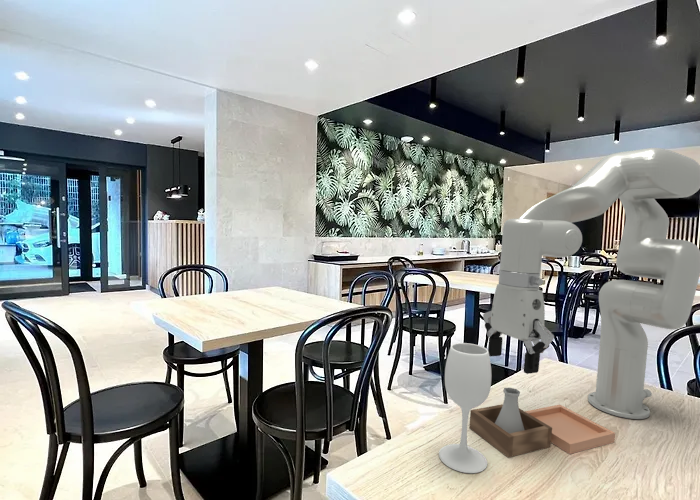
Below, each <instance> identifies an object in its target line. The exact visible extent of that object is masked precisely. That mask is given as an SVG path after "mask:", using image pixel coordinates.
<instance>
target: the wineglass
mask: <svg viewBox="0 0 700 500" xmlns="http://www.w3.org/2000/svg"><path fill="white" fill-rule="evenodd" d="M446 358H447V359H446V361H445V368H444V386H445V391H446V393H447V396H448V397H449V398H450V399H451V401H452V402H453V403H454V404H456V405H457V406H459V407H460V409H461V417H462V419H461V433H460V441H459V443H450V444H447V445H444V446H442V447H441V448H440V449H439V451H438V456H439V459H440V461H441V462H442V463H443V464H444V465H445V466H447V467H448V468H450V469H452V470H454V471H456V472H460V473H465V474H477V473H481V472H482V471H484V470H486V468H487V467H488V460H487V458H486V456H484V454H483V453H482V452H481V451H479V450H478V449H476V448H474V447H472V446H469V445H468V421H469V415H470V411H471V410H473V409H476V408H477V407H479V406H481V405H482V404H484V403H485V402H486V401H487V399H488V397H489V395H490V392H491V387H492V386H491V385H492V366H491V365H492V364H491V357H490V356H489V352H488V348H486V347H484V346H481V345H479V344H474V343H467V342H457V343H453V344H452V345H451V346H450V347H449V350H448V354H447V357H446Z"/></svg>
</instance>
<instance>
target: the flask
mask: <svg viewBox="0 0 700 500" xmlns="http://www.w3.org/2000/svg"><path fill="white" fill-rule="evenodd" d="M503 393H504V397H503V399H504V400H503V403H502V404H503V406H502V409H501V411H500V413H499V416H498V418H497V420H496V422H495V424H496V425H498V426H499V427H501V428H502V429H504V430H505V431H506V432H508V433H509V434H510V433H515V432H519V431H524V426H523V423H522V419H521V416H520V412H519V407H520V406H519V396H520V393H521V391H519V390H518V389H517V388H514V387H504V388H503Z"/></svg>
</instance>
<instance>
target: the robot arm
mask: <svg viewBox="0 0 700 500" xmlns="http://www.w3.org/2000/svg"><path fill="white" fill-rule="evenodd" d="M699 190H700V163H699V162H698V161H696V160H695V159H694V158H691V157H689V156H687V155H683V154H681V153H678V152H675V151H672V150H669V149H665V148H661V147H649V148H642V149H634V150H628V151H627V150H626V151H621V152H620V151H619V152H615V153H614V152H613V153H611V154H609V155H606V156H605V157H603V158H601V159H600V161H598V162H597V163H596V164H595V165H594V166H592V168H590V169H589V170H588V171H587V173H586V174H584V176H582V177H581V178H580V179H579V180H578V181H577V182H576V183H575V184H574V185H572V186H571V187H569V188H566V189H564V190H562V191H560V192H558V193H556V194H553V195H552V196H550V197H548V198H546V199H543V200H541V201H540V202H538V203H536V204H534V205H533V206H531V207H529V208H528V209H527V210H526V211H525V212H524V213H523V214H522V215H521V216H520V217H519V218H509V219H506V221H505V222H504V224H503V226H502V227H503V228H502V239H501V240H502V241H501V249H500V263H499V272H498V284H496V287H495V291H494V294H493V295H494V296H493V299H492V306H491V310H489V311H487V312H484V313H482V317H483V322H484V328H485V329H486V332H487V333H486V335H487V338H488V347H487V350H488V352H489V357H490V358H491V357H499V356H502V351H503V337H502V335H506V336H507V337H511V338H514V339H517V340H519V341H522V342H523V343H524V345H525V348H526V350H527V352H525V353H524V363H523V364H524V365H523V373H524V374H527V375H528V374H537V373H538V372H539V369H540V358H541V354H543V353H544V352H545V351H546V350H547V349H549V348H550V344H551V343H552V342H553V340H554V339H555V335H554V333H552V332H551V331H550V330H549V329H548V328H547V327H546V326H545V319H546V317H545V314H546V313H545V312H546V311H545V299H544V293H543V290H542V289H540V286H542V285H543V283H544V279H543V278H541V271H542V261H543V257H547V258H548V257H549V258H567V257H570V256H573V255H574V254H576V252H578V251H579V249H580V247H581V246H582V243H583V234H582V232H581V230H580V228H579V227H578V226H577V225H576V224H574V223H577V222H581V221H582V222H583V221H586V220H590V219H592V218H595V217H599V216H602V215H603V214H604V213H606V212H607V210H608V209H609V208H610V207H612V206H613V204H614V203H615V202H616V201H617V200H618V199H619V201H620V202H621V205H622V207H623V210H624V214H625V222H624V227H623V232H622V234H621V235H622V236H621V239H620V242H619V246H618V250H617V251H618V252H617V255H616V261H615V264H616V267H617V269H618V271H620V273H623V274H624V275H628V276H633V277H639V278H646V279H654V280H661V281H663V284H655V283H649V282H648V283H647V282H643V281H635V280H630V279H629V280H628V279H627V280H626V279H614V280H610V281H607V282H605V283H604V284H603V285H602V286H601V288H600V290H599V293H598V305H599V312H600V339H599V347H598V348H599V350H598V358H597V359H598V360H597V369H596V370H597V371H596V372H597V373H596V384H595V391H593V392H590V393H589V394H588V395H587V400H588V402H589V404H590V405H592V407H594V408H596V409H598V410H600V411H602V412H604V413H606V414H609V415H611V416H612V415H613V416H616V417H620V418H624V419H630V420H631V419H632V420H644V419H647V418H648V417H650V416H651V415H650V414H651V410H650V408H649V407H648V406H647V405H646V404H645V403H644V400H645V399H646V398H651V397H652V395H653V393H652V391H651V390H650V389H647V388H645V379H646V368H647V360H648V359H647V357H648V348H649V340H648V336H647V334H646V332H645V330H644V328H643V326H642V325H643V324H644V325H647V326H651V327H652V326H653V327H656V328H660V329H666V330H679V329H680V328H682V327H684V326H685V324H686V323H687V322H688V319H689V317H690V315H691V312H692V309H693V304H694V299H695V295H696V291H697V287H698V283H699V279H700V249H699V246H697V245H696V244H695V243H693V242H691V241H688V240H685V239H675V238H674V239H671V238H667V235H668V229H669V227H670V219H669V217H668V214H667V213H666V211H665V210H664V208H663V207H662V206H661V205H660V204H659V203H658V202H657V200H656V199H679V198H683V199H684V198H687V197H691V196H693V195H694V194H695V193H697V192H698V191H699ZM641 324H642V325H641Z"/></svg>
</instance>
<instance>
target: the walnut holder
mask: <svg viewBox="0 0 700 500" xmlns="http://www.w3.org/2000/svg"><path fill="white" fill-rule="evenodd" d="M502 406H503V403H501V404H496V405H491V406H485V407H480V408H473V409H471V410H470V412H469V415H470V417H469V429H470V430H471V431H472V432H473V433H475V434H476V435H478V437H480V438H482V439H483V440H484V441H485V442H487V443H488V444H490V446H492V447H493V448H495V449H496V450H497V451H499V452H500V453H501V454H502V455H503V456H505V457H507V458H508V459H509V458H512V457H517V456H519V455H524V454H528V453H532V452H537V451H539V450H540V451H541V450H543V449H544V450H545V449H549V448H551V446H552V443H551V436H552V427H550V426H548V425H547V424H545V423H543V422H542V421H540V420H538V419H537V418H535V417H533V416H531V415H530V414H528V413H526V412H525V411H526V410H522V409H521V408H519V412H520V416H521V419H522V423H523V426H524V431H519V432H515V433H510V434H509V433H508V432H506V431H505V430H504V429H502V428H501V427H499V426H498V425H496V424H495V422H496V420H497V418H498V416H499V413H500V411H501V409H502Z"/></svg>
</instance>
